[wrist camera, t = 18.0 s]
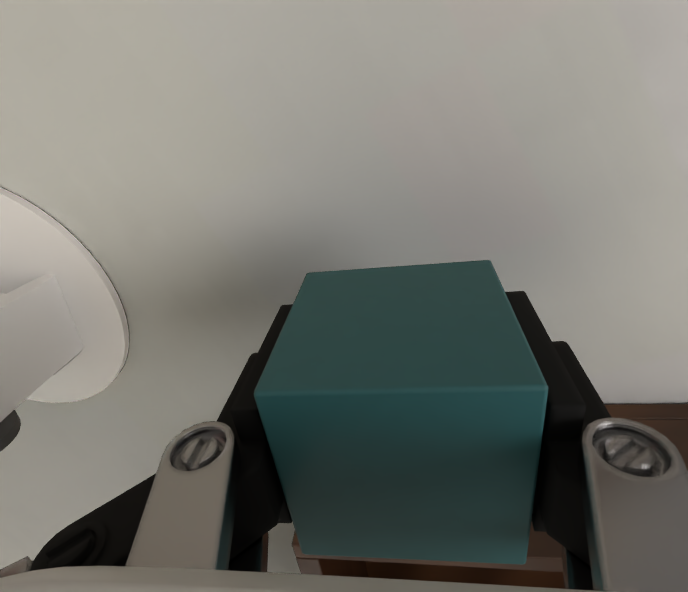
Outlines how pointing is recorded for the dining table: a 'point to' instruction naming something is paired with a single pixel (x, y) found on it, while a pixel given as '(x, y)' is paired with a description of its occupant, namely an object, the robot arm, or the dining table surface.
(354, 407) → the block
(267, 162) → the dining table surface
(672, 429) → the box
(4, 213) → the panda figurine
